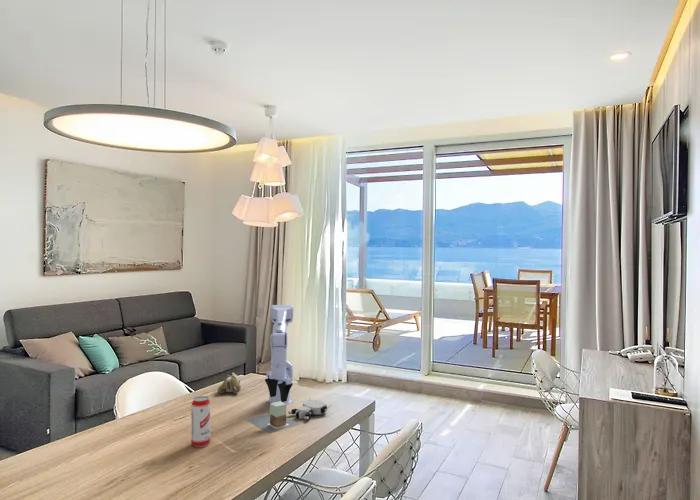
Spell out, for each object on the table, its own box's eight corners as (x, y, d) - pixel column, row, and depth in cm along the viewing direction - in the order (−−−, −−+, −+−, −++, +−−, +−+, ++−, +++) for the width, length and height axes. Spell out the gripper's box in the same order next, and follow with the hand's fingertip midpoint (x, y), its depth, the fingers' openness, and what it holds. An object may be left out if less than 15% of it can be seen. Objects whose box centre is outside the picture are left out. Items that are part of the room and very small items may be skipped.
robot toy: (307, 426, 183) (332, 413, 195) (307, 415, 183) (332, 402, 194) (286, 419, 191) (311, 407, 202) (285, 408, 191) (311, 396, 202)
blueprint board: (245, 420, 186) (245, 419, 186) (275, 412, 195) (275, 411, 195) (269, 434, 173) (269, 432, 173) (300, 425, 182) (300, 423, 182)
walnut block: (269, 424, 181) (270, 413, 181) (279, 421, 184) (279, 411, 184) (276, 427, 178) (276, 417, 178) (286, 424, 181) (286, 414, 181)
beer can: (213, 442, 165) (213, 396, 165) (202, 449, 159) (202, 402, 159) (198, 439, 167) (199, 394, 167) (187, 446, 161) (187, 400, 161)
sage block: (269, 413, 181) (270, 403, 181) (279, 411, 184) (279, 401, 184) (276, 417, 178) (276, 406, 178) (286, 414, 181) (286, 404, 181)
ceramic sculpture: (244, 368, 232) (239, 379, 217) (244, 386, 232) (239, 397, 217) (222, 369, 231) (215, 379, 216) (222, 386, 231) (216, 398, 217)
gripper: (259, 361, 184) (259, 396, 184) (280, 369, 173) (280, 405, 173) (275, 359, 188) (274, 392, 188) (296, 366, 177) (295, 401, 178)
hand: (278, 398), depth 181 cm, fingers open, 7 cm apart
